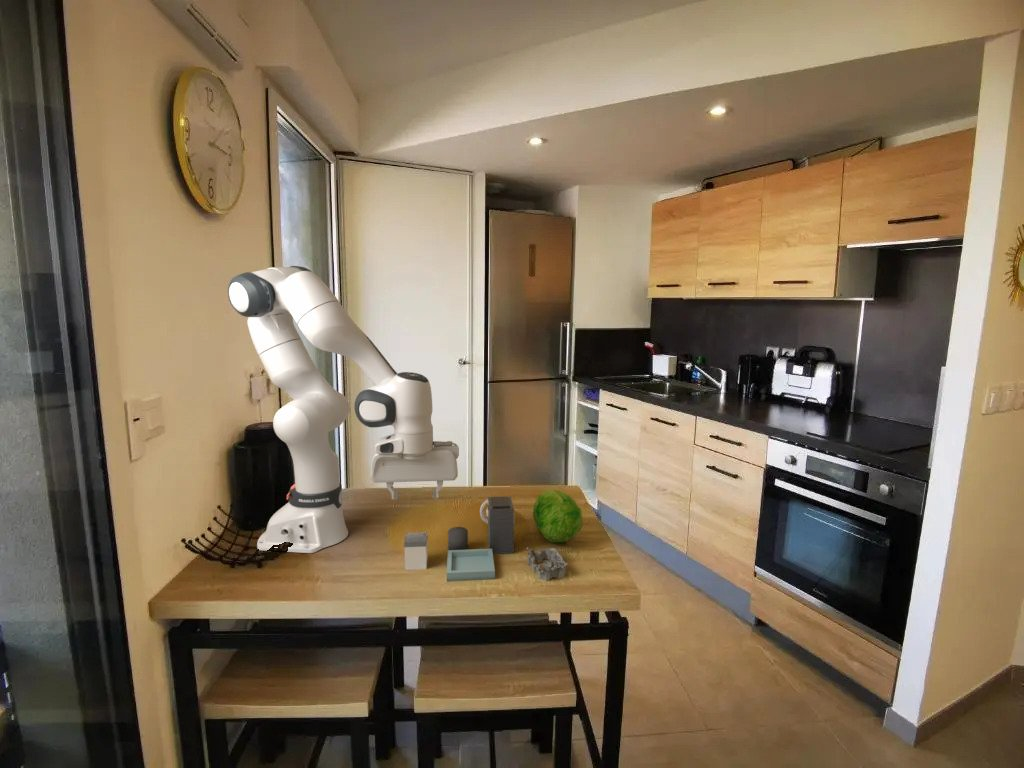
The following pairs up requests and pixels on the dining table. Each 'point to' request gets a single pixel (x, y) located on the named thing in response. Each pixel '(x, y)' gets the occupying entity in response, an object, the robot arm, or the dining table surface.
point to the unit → (500, 525)
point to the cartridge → (416, 551)
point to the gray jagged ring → (547, 563)
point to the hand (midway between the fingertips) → (415, 498)
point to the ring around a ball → (482, 511)
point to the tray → (470, 565)
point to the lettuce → (557, 516)
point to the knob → (458, 538)
